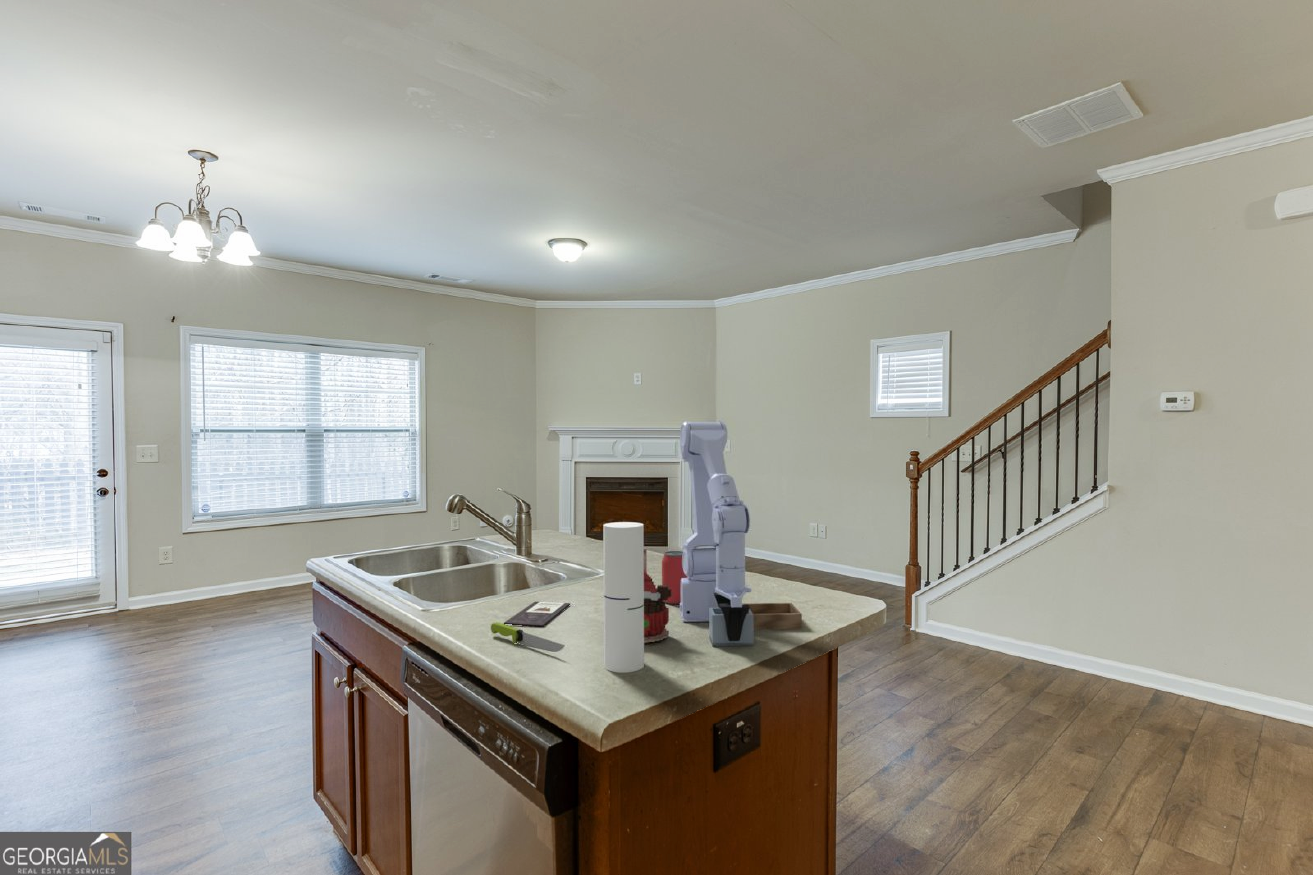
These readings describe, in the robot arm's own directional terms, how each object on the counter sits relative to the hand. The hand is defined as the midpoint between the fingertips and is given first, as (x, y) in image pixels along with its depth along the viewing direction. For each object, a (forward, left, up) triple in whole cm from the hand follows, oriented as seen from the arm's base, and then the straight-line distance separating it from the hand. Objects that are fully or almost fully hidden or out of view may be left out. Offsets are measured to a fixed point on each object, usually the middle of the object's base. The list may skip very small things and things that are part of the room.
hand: (730, 634), depth 125 cm
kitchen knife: (-40, -1, -2) cm, 40 cm away
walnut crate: (+10, +12, -2) cm, 16 cm away
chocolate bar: (-41, +21, -2) cm, 46 cm away
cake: (-17, +3, -2) cm, 17 cm away
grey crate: (0, 0, -1) cm, 1 cm away
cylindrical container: (-21, -12, -2) cm, 24 cm away
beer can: (-9, +31, -2) cm, 32 cm away
